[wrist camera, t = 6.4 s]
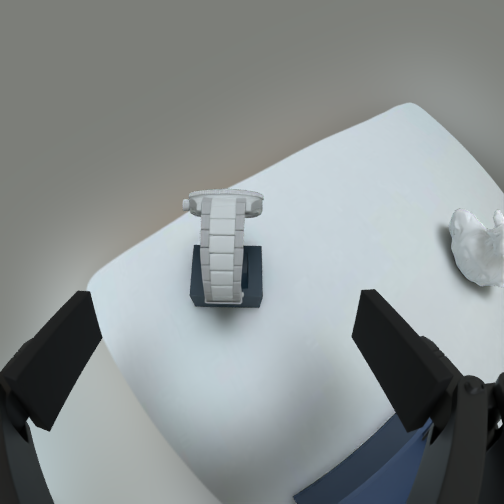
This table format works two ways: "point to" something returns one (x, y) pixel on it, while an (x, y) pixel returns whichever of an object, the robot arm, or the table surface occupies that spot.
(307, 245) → the table surface
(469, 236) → the bust
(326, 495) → the bin
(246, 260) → the watch
